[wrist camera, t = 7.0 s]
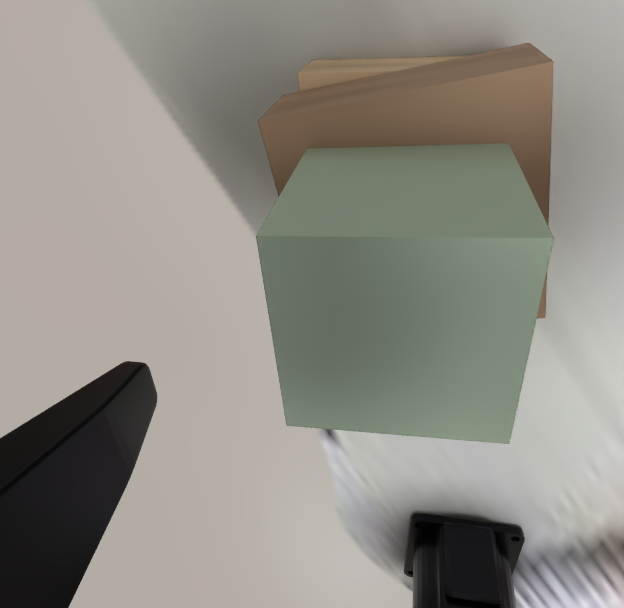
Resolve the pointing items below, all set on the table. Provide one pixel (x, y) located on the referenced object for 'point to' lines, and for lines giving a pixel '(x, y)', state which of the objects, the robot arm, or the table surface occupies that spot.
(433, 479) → the table surface
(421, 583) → the robot arm
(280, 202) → the cube
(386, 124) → the tower top
